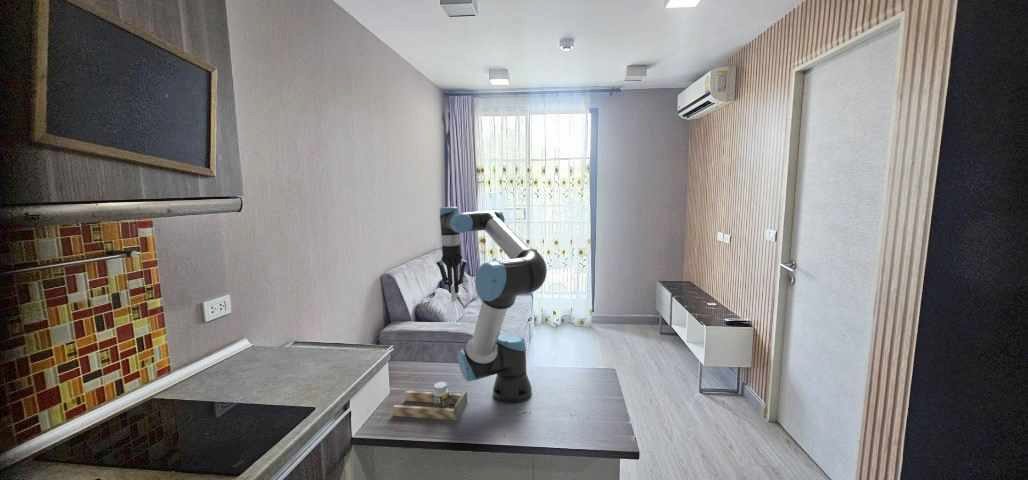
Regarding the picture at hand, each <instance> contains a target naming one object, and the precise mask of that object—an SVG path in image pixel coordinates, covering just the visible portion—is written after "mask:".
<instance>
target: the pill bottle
mask: <svg viewBox="0 0 1028 480" xmlns="http://www.w3.org/2000/svg"><path fill="white" fill-rule="evenodd" d="M432 392H433V402H434V403H433V402H432V403H433V407H434V408H449V409H451V408H450V407H451V404H450V403H449V393H450V391H449V389H448V384H447V382H445V381H438V382H436V383H434V384H433V391H432Z"/></svg>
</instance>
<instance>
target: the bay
mask: <svg viewBox="0 0 1028 480" xmlns="http://www.w3.org/2000/svg"><path fill="white" fill-rule="evenodd" d="M433 392H434V391H432V392H431V391H419V390H417V391H416V390H405V393H404V394H405V397H404V398H405V401H407V402H418V403H419V402H421V403H433V404H434V402H433ZM467 392H468V391H467V390H463V391H462V393H453V392H449V403H450V405H451V404H452V405H454V406H453V408H450V409H449V408H434V406H433V407H431V406H415V405H402V404H401V405H399V404H394V405H393V406H392V413H393V414H392V415H393V417H406V418H419V419H420V418H422V419H435V420H450V421H459V419H460V417H461V415H462V414H463V412H464V410H465V408H466V406H467V404H468V393H467Z"/></svg>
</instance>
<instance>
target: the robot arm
mask: <svg viewBox="0 0 1028 480" xmlns="http://www.w3.org/2000/svg"><path fill="white" fill-rule="evenodd" d="M439 220H440V221H439V224H440V237H441V239H440V240H441V244H442V246H441V253H442V254H441V255H442V256H441V259H440V260H439V261H437V262H436V265H437V267H438V269H439V272H440V275H441V278H442V281H443V284H444V285H447V286H448V293H449V294H450V295H451V297H450V298H451V302H452V303H453V302H457V300H458V295H457V294H458V293H459V286H460V285H461V284H463V282H464V277H465V270H466V267H467V265H468V264H469V263H468V260H465V259H463V257H462V252H461V249H462V248H461V245H460V244H461V235H460V234H466V233H468V232H477V231H485V233H487V234H488V236H489V237H491V239H492V240H493V241H494V242H495V243H496V245H497V246H498V247H499V248H500V250H502V251H503V252H504V254H505V255H506V256H507V257H508V258H509V259H503V260H497V259H496V260H495V259H494V260H491V261H488V262H484V263H483V264H481V265H480V266H479V267H478V269H477V271H476V275H475V282H476V283H475V290H476V291H475V292H476V293H477V296H478V298H479V299H480V300H481V305H480V308H479V312H478V316H477V320H476V323H475V328H474V331H473V335H472V337H471V339H469V340H468V342H467V343H466V345H465V348H461V349H459V350H458V351H457V362H458V366H459V370H460V372H461V376H462V377H463V378H464V380H465V381H467V382H472V381H473V382H474V381H478V380H480V379H481V380H482V379H485V378H488V377H491V376H495V375H496V377H495V381H494V384H493V387H492V392H493V393H492V395H493V397H494V399H495V400H497V401H499V402H500V403H501V402H502V403H506V404H517V403H521V402H524V401H526V400H528V399H529V398H530V397H531V396H532V385H531V382H530V380H529V376H528V374H527V373H528V372H527V352H526V351H527V348H526V341H525V339H524V338H523V337H522V336H520V335H517V334H514V333H500V332H501V330H502V327H503V323H504V320H505V317H506V315H507V311H508V309H510V308H511V307H513V305H514V304H515V302H516V299H517V296H521V295H527V294H531V293H534V292H536V291H537V290H539V289H540V288H541V287H542V286H543V284H544V282H545V281H546V279H547V273H548V272H547V265H546V261H545V259H544V258H543V256H542V255H541V254H540V252H538V250H536V249H534V248H533V247H532V248H530V247H529V246H528V245H527V244H526V243H525V242H524V241H523V240H522V239H521V238H520V236H518V235H517V234H516V233H515V232H514V230H512V229H511V228H510V227H509V226H508V225H507V224H506V223H505V215H504V213H503V212H502V211H501V210H496V209H495V210H494V209H493V210H492V209H491V210H481V211H465V212H460V211H459V208H458V207H457V206H443V207H440V208H439ZM459 265H461V266H460V270H459ZM445 266H446V269H445ZM446 272H447V273H446Z"/></svg>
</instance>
